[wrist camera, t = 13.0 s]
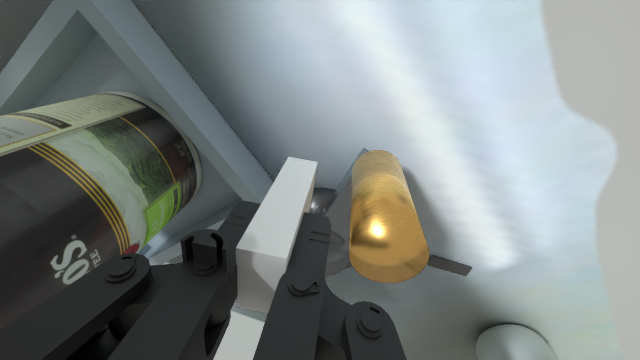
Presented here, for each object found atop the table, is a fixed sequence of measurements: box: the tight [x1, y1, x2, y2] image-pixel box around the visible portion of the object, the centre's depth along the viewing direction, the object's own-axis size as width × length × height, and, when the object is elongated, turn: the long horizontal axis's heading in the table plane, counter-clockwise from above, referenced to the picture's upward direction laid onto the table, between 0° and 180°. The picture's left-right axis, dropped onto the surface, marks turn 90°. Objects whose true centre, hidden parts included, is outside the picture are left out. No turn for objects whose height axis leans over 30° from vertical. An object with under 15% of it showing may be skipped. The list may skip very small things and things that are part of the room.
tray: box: [0, 0, 274, 265], centre depth 20 cm, size 16×16×3 cm
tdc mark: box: [427, 255, 472, 276], centre depth 23 cm, size 4×1×1 cm, turn 75°
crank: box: [320, 148, 429, 283], centre depth 16 cm, size 12×5×8 cm, turn 153°
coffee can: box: [0, 91, 202, 329], centre depth 15 cm, size 10×10×14 cm
